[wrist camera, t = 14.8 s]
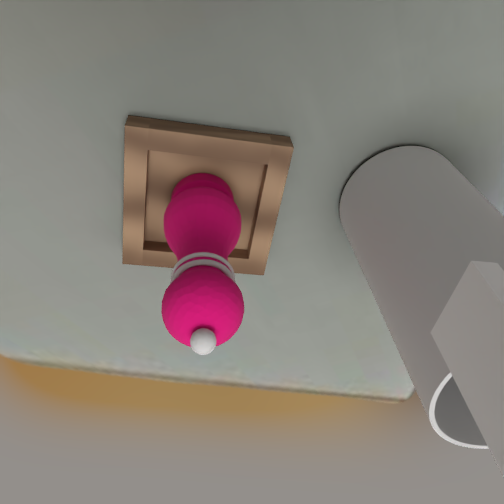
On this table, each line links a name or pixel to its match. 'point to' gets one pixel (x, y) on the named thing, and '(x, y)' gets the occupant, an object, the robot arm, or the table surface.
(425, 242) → the cylinder vase
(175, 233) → the pepper mill
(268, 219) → the walnut holder
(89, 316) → the table surface
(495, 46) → the table surface
